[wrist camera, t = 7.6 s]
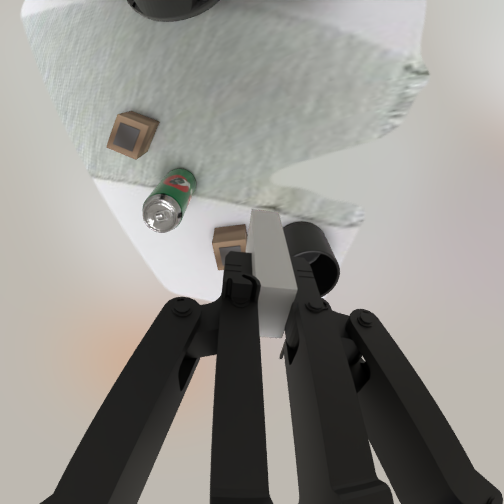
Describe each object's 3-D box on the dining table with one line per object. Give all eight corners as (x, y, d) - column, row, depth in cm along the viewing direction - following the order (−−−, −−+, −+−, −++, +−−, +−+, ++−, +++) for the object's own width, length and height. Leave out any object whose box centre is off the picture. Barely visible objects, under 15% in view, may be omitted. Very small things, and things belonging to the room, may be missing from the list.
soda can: (161, 171, 40) (133, 201, 30) (192, 164, 39) (173, 192, 29) (170, 201, 42) (147, 239, 32) (200, 194, 42) (185, 231, 32)
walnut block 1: (131, 110, 34) (117, 114, 30) (159, 121, 36) (148, 126, 31) (120, 140, 37) (105, 147, 32) (147, 151, 38) (135, 160, 34)
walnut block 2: (215, 227, 45) (211, 244, 41) (245, 223, 45) (245, 240, 41) (220, 253, 48) (218, 271, 44) (249, 249, 48) (249, 267, 43)
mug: (282, 283, 52) (288, 318, 44) (265, 229, 46) (270, 260, 38) (330, 270, 51) (343, 303, 43) (321, 214, 44) (336, 243, 37)
